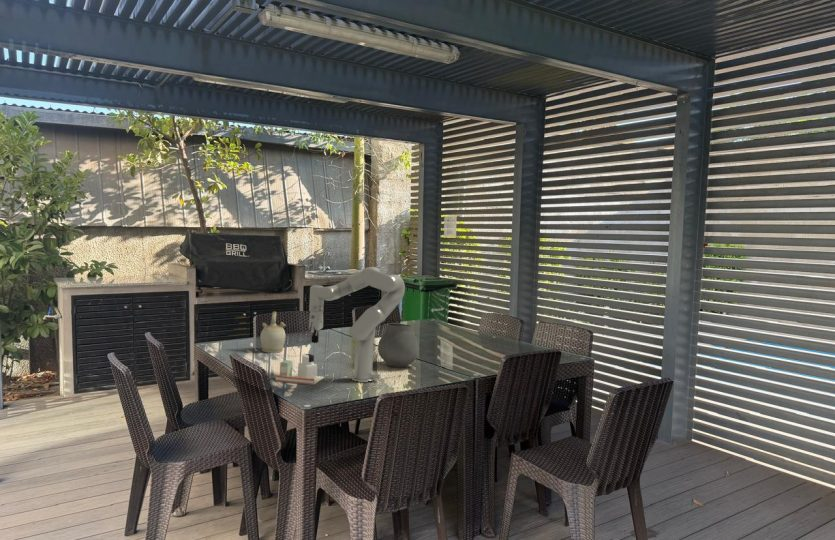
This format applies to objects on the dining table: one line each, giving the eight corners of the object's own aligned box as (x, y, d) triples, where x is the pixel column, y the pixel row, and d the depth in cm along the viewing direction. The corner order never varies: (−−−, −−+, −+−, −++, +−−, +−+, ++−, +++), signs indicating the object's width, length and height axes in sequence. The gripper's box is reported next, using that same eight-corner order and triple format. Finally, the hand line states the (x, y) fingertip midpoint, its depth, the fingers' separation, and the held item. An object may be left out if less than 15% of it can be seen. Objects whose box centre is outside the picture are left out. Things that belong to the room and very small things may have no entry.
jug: (288, 349, 367) (289, 310, 365) (280, 354, 351) (281, 313, 350) (265, 347, 368) (266, 309, 366) (255, 352, 353) (257, 312, 351)
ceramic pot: (425, 365, 342) (428, 324, 341) (404, 373, 322) (406, 329, 320) (391, 359, 355) (393, 319, 353) (368, 365, 334) (371, 323, 332)
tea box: (291, 378, 297) (292, 360, 296) (286, 380, 291) (287, 363, 290) (284, 377, 298) (285, 360, 297) (279, 380, 292) (280, 362, 291)
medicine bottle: (308, 375, 305) (309, 352, 304) (316, 377, 300) (318, 355, 300) (297, 377, 299) (298, 354, 299) (306, 379, 295) (307, 356, 294)
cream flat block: (324, 377, 303) (324, 371, 303) (313, 385, 286) (313, 379, 286) (288, 373, 306) (289, 368, 306) (275, 381, 289) (275, 375, 289)
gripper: (318, 310, 299) (316, 345, 300) (327, 307, 314) (326, 340, 315) (304, 309, 300) (303, 344, 301) (314, 306, 315) (313, 339, 316)
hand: (314, 342), depth 308 cm, fingers closed
